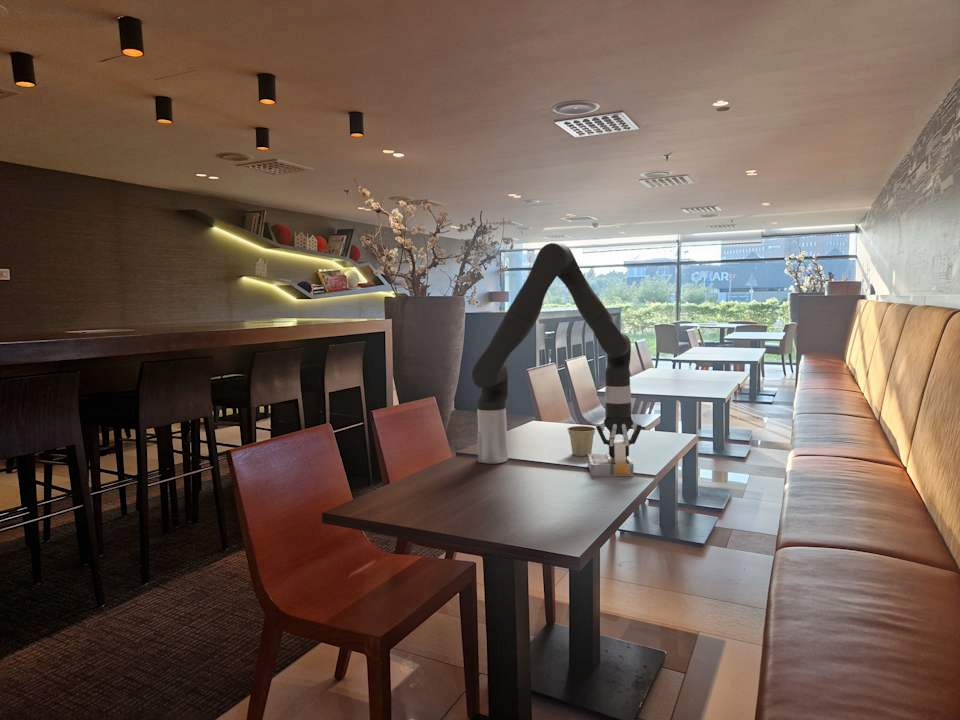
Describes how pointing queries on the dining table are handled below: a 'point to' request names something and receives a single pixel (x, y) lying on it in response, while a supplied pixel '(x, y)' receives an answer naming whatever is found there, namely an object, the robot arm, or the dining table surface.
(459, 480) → the dining table surface
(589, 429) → the flower pot
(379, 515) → the dining table surface
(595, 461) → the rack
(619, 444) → the panel
